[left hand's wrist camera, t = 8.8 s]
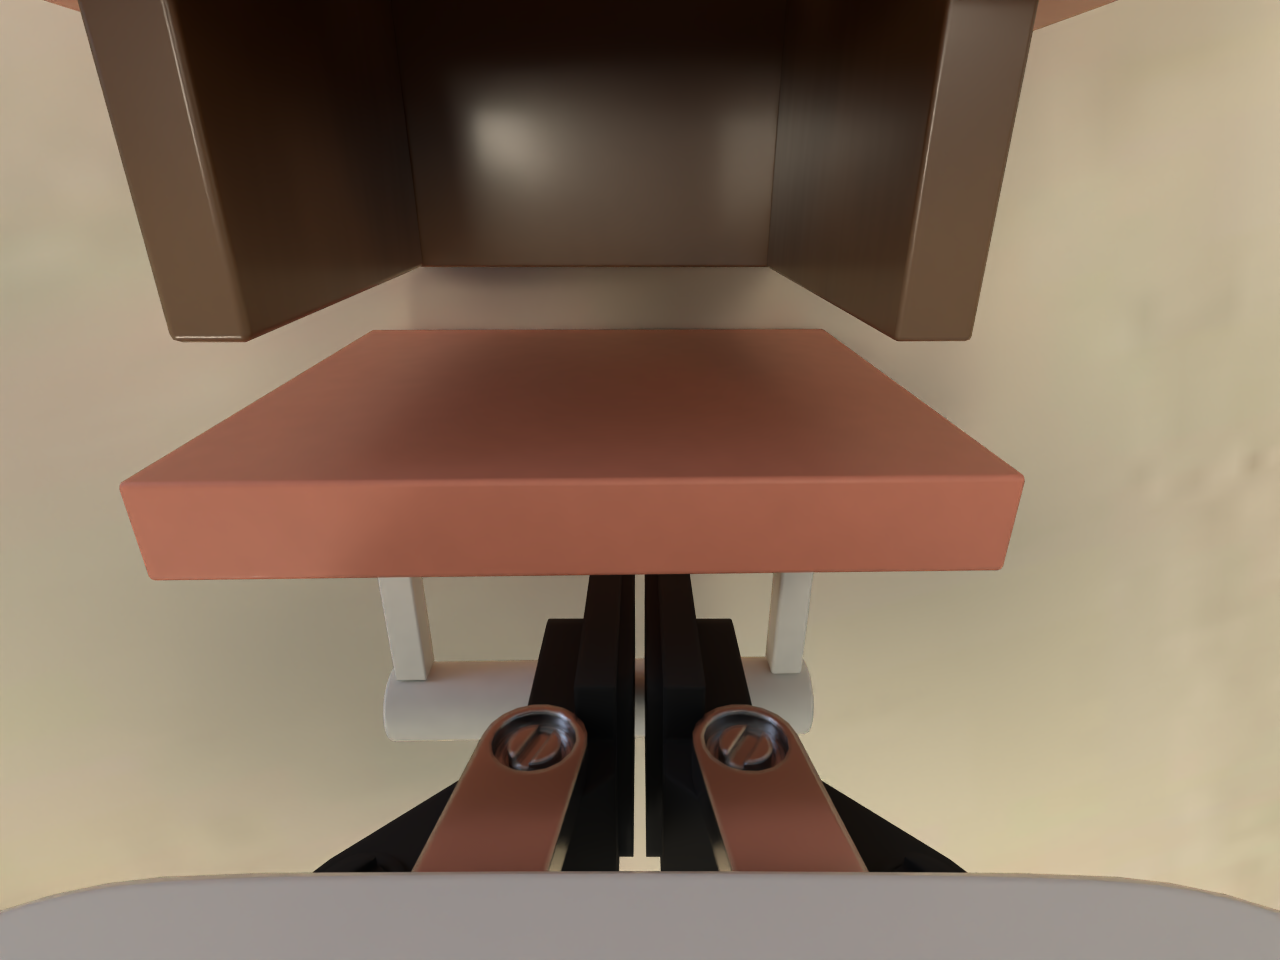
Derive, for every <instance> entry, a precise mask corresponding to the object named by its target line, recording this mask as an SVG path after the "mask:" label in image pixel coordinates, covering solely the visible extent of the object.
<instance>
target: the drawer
mask: <svg viewBox="0 0 1280 960" xmlns="http://www.w3.org/2000/svg"><path fill="white" fill-rule="evenodd" d="M77 1H78V4H79V8H80V12H81V15H82V19H83V22H84V26H85V30H86V33H87V37H88V40H89V44H90V48H91V51H92V55H93V59H94V62H95V66H96V69H97V73H98V77H99V80H100V84H101V87H102V91H103V95H104V98H105V102H106V106H107V109H108V113H109V116H110V120H111V124H112V127H113V131H114V134H115V138H116V142H117V145H118V149H119V153H120V156H121V160H122V163H123V167H124V171H125V174H126V178H127V181H128V185H129V189H130V192H131V196H132V200H133V203H134V207H135V210H136V214H137V218H138V221H139V225H140V228H141V232H142V236H143V239H144V243H145V246H146V250H147V254H148V257H149V261H150V265H151V268H152V272H153V275H154V279H155V283H156V286H157V290H158V293H159V297H160V301H161V304H162V308H163V312H164V315H165V319H166V322H167V326H168V330H169V333H170V335H171V337H172V338H173V339H174V340H177V341H181V342H247V341H249V340H252V339H254V338H256V337H259V336H261V335H263V334H266V333H268V332H270V331H273V330H275V329H277V328H279V327H282V326H284V325H286V324H289V323H291V322H293V321H296V320H298V319H300V318H303V317H305V316H307V315H310V314H312V313H314V312H317V311H319V310H321V309H324V308H326V307H328V306H330V305H333V304H335V303H337V302H340V301H342V300H344V299H347V298H349V297H351V296H354V295H356V294H358V293H361V292H363V291H365V290H368V289H370V288H372V287H374V286H377V285H379V284H381V283H384V282H386V281H388V280H391V279H393V278H395V277H398V276H400V275H402V274H405V273H407V272H409V271H412V270H414V269H416V268H418V267H769V268H771V269H773V270H774V271H776V272H778V273H780V274H781V275H783V276H785V277H787V278H788V279H790V280H792V281H793V282H795V283H797V284H799V285H800V286H802V287H804V288H806V289H807V290H809V291H811V292H813V293H814V294H816V295H818V296H819V297H821V298H823V299H825V300H826V301H828V302H830V303H832V304H833V305H835V306H837V307H839V308H840V309H842V310H844V311H845V312H847V313H849V314H851V315H852V316H854V317H856V318H858V319H859V320H861V321H863V322H865V323H866V324H868V325H870V326H871V327H873V328H875V329H877V330H878V331H880V332H882V333H884V334H885V335H887V336H889V337H891V338H892V339H894V340H896V341H966V340H969V339H970V338H971V336H972V331H973V326H974V321H975V316H976V311H977V306H978V301H979V296H980V291H981V286H982V281H983V276H984V271H985V266H986V261H987V256H988V251H989V246H990V241H991V236H992V231H993V226H994V221H995V216H996V211H997V206H998V201H999V196H1000V191H1001V187H1002V182H1003V177H1004V172H1005V167H1006V162H1007V157H1008V152H1009V147H1010V142H1011V137H1012V132H1013V127H1014V122H1015V117H1016V112H1017V107H1018V102H1019V97H1020V92H1021V87H1022V82H1023V77H1024V72H1025V67H1026V62H1027V57H1028V52H1029V47H1030V42H1031V37H1032V32H1033V27H1034V22H1035V17H1036V12H1037V7H1038V2H1039V0H77ZM1024 482H1025V481H1024V476H1023V475H1022V474H1021V473H1020V472H1018V471H1017V470H1015V469H1014V468H1013V467H1011V466H1010V465H1009V464H1007V463H1006V462H1004V461H1003V460H1002V459H1000V458H999V457H998V456H996V455H995V454H993V453H992V452H991V451H989V450H988V449H987V448H985V447H984V446H982V445H981V444H980V443H978V442H977V441H976V440H974V439H973V438H971V437H970V436H969V435H967V434H966V433H965V432H963V431H962V430H961V429H959V428H958V427H956V426H955V425H954V424H952V423H951V422H950V421H948V420H947V419H945V418H944V417H943V416H941V415H940V414H939V413H937V412H936V411H934V410H933V409H932V408H930V407H929V406H928V405H926V404H925V403H923V402H922V401H921V400H919V399H918V398H917V397H915V396H914V395H912V394H911V393H910V392H908V391H907V390H906V389H904V388H903V387H901V386H900V385H899V384H897V383H896V382H895V381H893V380H892V379H890V378H889V377H888V376H886V375H885V374H884V373H882V372H881V371H879V370H878V369H877V368H875V367H874V366H873V365H871V364H870V363H869V362H867V361H866V360H864V359H863V358H862V357H860V356H859V355H858V354H856V353H855V352H853V351H852V350H851V349H849V348H848V347H847V346H845V345H844V344H842V343H841V342H840V341H838V340H837V339H836V338H834V337H833V336H831V335H830V334H829V333H827V332H826V331H825V330H822V329H696V330H373V331H370V332H369V333H367V334H366V335H364V336H362V337H361V338H359V339H357V340H356V341H354V342H352V343H351V344H349V345H347V346H346V347H344V348H342V349H341V350H339V351H337V352H336V353H334V354H333V355H331V356H329V357H328V358H326V359H324V360H323V361H321V362H319V363H318V364H316V365H314V366H313V367H311V368H309V369H308V370H306V371H304V372H303V373H301V374H300V375H298V376H296V377H295V378H293V379H291V380H290V381H288V382H286V383H285V384H283V385H281V386H280V387H278V388H276V389H275V390H273V391H271V392H270V393H268V394H266V395H265V396H263V397H262V398H260V399H258V400H257V401H255V402H253V403H252V404H250V405H248V406H247V407H245V408H243V409H242V410H240V411H238V412H237V413H235V414H233V415H232V416H230V417H229V418H227V419H225V420H224V421H222V422H220V423H219V424H217V425H215V426H214V427H212V428H210V429H209V430H207V431H205V432H204V433H202V434H200V435H199V436H197V437H196V438H194V439H192V440H191V441H189V442H187V443H186V444H184V445H182V446H181V447H179V448H177V449H176V450H174V451H172V452H171V453H169V454H167V455H166V456H164V457H163V458H161V459H159V460H158V461H156V462H154V463H153V464H151V465H149V466H148V467H146V468H144V469H143V470H141V471H139V472H138V473H136V474H134V475H133V476H131V477H129V478H128V479H126V480H125V481H123V482H121V484H120V492H121V495H122V498H123V501H124V504H125V507H126V510H127V513H128V516H129V519H130V522H131V525H132V528H133V531H134V534H135V536H136V539H137V542H138V545H139V548H140V551H141V554H142V557H143V560H144V563H145V566H146V569H147V572H148V575H149V577H150V578H151V579H153V580H217V579H300V578H378V582H379V588H380V593H381V599H382V605H383V610H384V616H385V621H386V627H387V633H388V638H389V644H390V649H391V655H392V661H393V666H394V668H393V669H392V671H391V673H390V676H389V679H388V682H387V685H386V690H385V695H384V704H383V719H384V727H385V731H386V734H387V736H388V738H389V739H390V740H392V741H395V742H400V741H454V740H480V739H481V737H482V735H483V733H484V732H485V731H486V729H487V728H488V727H489V725H490V724H491V723H492V722H493V721H495V720H496V719H497V718H499V717H500V716H501V715H503V714H505V713H507V712H509V711H511V710H514V709H516V708H519V707H524V706H528V702H529V697H530V693H531V689H532V684H533V680H534V676H535V672H536V667H537V663H538V660H512V661H447V662H434V655H433V648H432V641H431V634H430V628H429V621H428V614H427V607H426V601H425V594H424V587H423V580H422V577H465V576H548V575H631V574H714V573H773V583H772V594H771V604H770V614H769V625H768V635H767V645H766V657H741V660H742V665H743V669H744V673H745V677H746V682H747V686H748V690H749V694H750V699H751V703H752V706H756V707H761V708H764V709H766V710H769V711H771V712H773V713H775V714H777V715H779V716H780V717H781V718H783V719H784V720H785V721H787V722H788V723H789V724H790V725H791V727H792V728H793V729H794V731H795V732H796V733H797V734H805V733H807V732H809V731H810V729H811V725H812V721H813V712H814V699H813V688H812V682H811V677H810V673H809V670H808V667H807V665H806V663H805V661H804V659H803V652H804V644H805V636H806V628H807V620H808V612H809V604H810V596H811V588H812V580H813V572H880V571H963V570H999V569H1001V568H1002V567H1003V564H1004V560H1005V556H1006V552H1007V548H1008V545H1009V541H1010V537H1011V533H1012V529H1013V525H1014V521H1015V517H1016V513H1017V509H1018V505H1019V501H1020V497H1021V494H1022V490H1023V486H1024ZM635 737H645V658H641V659H635Z"/></svg>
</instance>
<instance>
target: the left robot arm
mask: <svg viewBox="0 0 1280 960" xmlns="http://www.w3.org/2000/svg"><path fill="white" fill-rule="evenodd" d="M634 756H635V574H631V575H590V577H589V584H588V591H587V598H586V605H585V612H584V619H548V622H547V625H546V629H545V633H544V637H543V642H542V646H541V650H540V655H539V659H538V663H537V667H536V672H535V676H534V680H533V684H532V689H531V693H530V697H529V702H528V706H524V707H519V708H516V709H514V710H511V711H509V712H507V713H505V714H503V715H501V716H500V717H499V718H497V719H496V720H495V721H493V722H492V723H491V724H490V725H489V727H488V728H487V729H486V731H485V732H484V733H483V735H482V737H481V739H480V741H479V743H478V744H477V746H476V748H475V750H474V752H473V754H472V756H471V758H470V760H469V762H468V764H467V766H466V768H465V769H464V771H463V773H462V775H461V777H460V779H459V780H458V781H457V782H455V783H454V784H452V785H450V786H449V787H447V788H445V789H444V790H442V791H441V792H439V793H437V794H436V795H434V796H432V797H431V798H429V799H427V800H426V801H424V802H423V803H421V804H419V805H418V806H416V807H414V808H413V809H411V810H410V811H408V812H406V813H405V814H403V815H401V816H400V817H398V818H397V819H395V820H393V821H392V822H390V823H388V824H387V825H385V826H383V827H382V828H380V829H379V830H377V831H375V832H374V833H372V834H370V835H369V836H367V837H366V838H364V839H362V840H361V841H359V842H357V843H356V844H354V845H352V846H351V847H349V848H348V849H346V850H344V851H343V852H341V853H339V854H338V855H336V856H335V857H333V858H331V859H330V860H328V861H327V862H326V863H324V864H323V865H322V866H320V867H319V868H318V869H317V870H315V871H314V872H313V873H250V874H225V875H200V876H175V877H158V878H149V879H140V880H132V881H123V882H114V883H108V884H103V885H98V886H93V887H88V888H83V889H78V890H73V891H68V892H63V893H59V894H54V895H51V896H47V897H44V898H41V899H37V900H34V901H31V902H28V903H24V904H21V905H18V906H14V907H11V908H8V909H4V910H1V911H0V960H1280V911H1279V910H1276V909H1272V908H1269V907H1266V906H1262V905H1259V904H1256V903H1252V902H1249V901H1246V900H1243V899H1239V898H1236V897H1233V896H1229V895H1226V894H1221V893H1217V892H1212V891H1207V890H1202V889H1197V888H1192V887H1187V886H1182V885H1177V884H1172V883H1166V882H1157V881H1148V880H1140V879H1131V878H1122V877H1105V876H1080V875H1054V874H1029V873H967V872H966V871H965V870H963V869H962V868H961V867H959V866H958V865H957V864H955V863H954V862H953V861H951V860H950V859H948V858H947V857H945V856H944V855H942V854H940V853H939V852H937V851H935V850H934V849H932V848H931V847H929V846H927V845H926V844H924V843H922V842H921V841H919V840H917V839H916V838H914V837H913V836H911V835H909V834H908V833H906V832H904V831H903V830H901V829H900V828H898V827H896V826H895V825H893V824H891V823H890V822H888V821H886V820H885V819H883V818H882V817H880V816H878V815H877V814H875V813H873V812H872V811H870V810H869V809H867V808H865V807H864V806H862V805H860V804H859V803H857V802H855V801H854V800H852V799H851V798H849V797H847V796H846V795H844V794H842V793H841V792H839V791H838V790H836V789H834V788H833V787H831V786H829V785H828V784H826V783H824V782H823V781H821V779H820V777H819V775H818V773H817V771H816V769H815V768H814V766H813V764H812V762H811V760H810V758H809V756H808V754H807V752H806V750H805V748H804V746H803V744H802V743H801V741H800V739H799V737H798V735H797V733H796V732H795V731H794V729H793V728H792V727H791V725H790V724H789V723H788V722H787V721H785V720H784V719H783V718H781V717H780V716H779V715H777V714H775V713H773V712H771V711H769V710H766V709H764V708H761V707H756V706H752V703H751V699H750V694H749V690H748V686H747V682H746V677H745V673H744V669H743V665H742V660H741V656H740V652H739V647H738V643H737V639H736V635H735V630H734V626H733V623H732V620H731V619H696V615H695V608H694V601H693V594H692V587H691V580H690V574H645V786H646V857H660V863H661V871H619V857H633V852H634Z"/></svg>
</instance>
